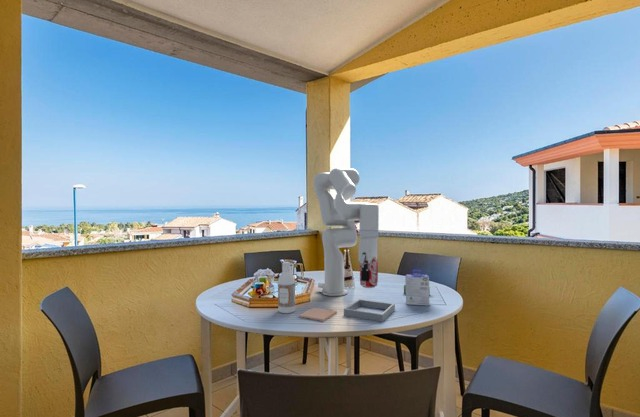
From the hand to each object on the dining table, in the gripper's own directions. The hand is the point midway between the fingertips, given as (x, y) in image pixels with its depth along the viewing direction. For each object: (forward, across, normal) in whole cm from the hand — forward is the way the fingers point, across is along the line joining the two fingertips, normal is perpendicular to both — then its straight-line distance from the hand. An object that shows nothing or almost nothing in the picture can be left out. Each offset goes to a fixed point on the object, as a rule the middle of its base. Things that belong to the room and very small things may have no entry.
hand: (368, 278), depth 137 cm
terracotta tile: (+14, +13, -16) cm, 25 cm away
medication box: (+14, -36, +11) cm, 40 cm away
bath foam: (+14, +14, -30) cm, 36 cm away
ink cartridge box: (+14, -20, +15) cm, 29 cm away
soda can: (+4, 0, 0) cm, 4 cm away
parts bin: (+14, +1, +1) cm, 14 cm away
